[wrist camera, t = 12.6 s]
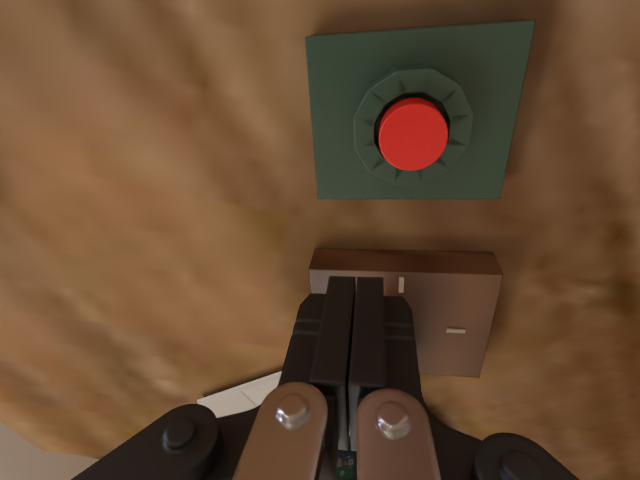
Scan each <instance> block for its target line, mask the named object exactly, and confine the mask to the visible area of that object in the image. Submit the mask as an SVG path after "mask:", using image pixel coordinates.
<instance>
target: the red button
mask: <svg viewBox="0 0 640 480" xmlns="http://www.w3.org/2000/svg"><path fill="white" fill-rule="evenodd" d="M447 140H448V128H447V124H446V121H445V119H444V118H443V116H442V114H441V112H440V111H439V109H438V108H437V107H436V106H435V105H434V104H433V103H432V102H430V101H428V100H426V99H423V98H418V97H412V98H406V99H403V100H400V101H398V102H396V103H395V104H393V105H392V106H391V107H390V108H389V109H388V110H387V111H386V113H385V114H384V116H383V118H382V120H381V123H380V127H379V146H380V150H381V153H382V155H383V156H384V158H385V159H386V160H387V161H388V162H389V163H390V164H391V165H393V166H394V167H396V168H399V169H402V170H408V171H413V170H419V169H423V168H425V167H427V166H429V165H431V164H432V163H434V162H435V161H436V160H437V159H438V158H439V157H440V156H441V154H442V153H443V151H444V149H445V147H446V144H447Z"/></svg>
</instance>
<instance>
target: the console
mask: <svg viewBox="0 0 640 480" xmlns="http://www.w3.org/2000/svg"><path fill="white" fill-rule="evenodd" d="M330 276H353V277H356V286H357V277H383V283H384V296H403V298H404V299H405V300H406V302H407V303H408V305H409V306H410V308H411V309H412V313H413V322H414V331H415V341H416V349H417V358H418V367H419V373H420V374H434V375H447V376H461V377H475V378H479V377H480V373H481V369H482V364H483V360H484V356H485V351H486V347H487V343H488V339H489V334H490V330H491V326H492V322H493V317H494V313H495V309H496V305H497V300H498V296H499V292H500V287H501V283H502V279H503V273H502V271H501V269H500V267H499V265H498V262H497V260H496V258H495V256H494V254H493V252H457V251H409V250H361V249H315V250H314V253H313V257H312V260H311V263H310V267H309V277H310V287H311V293H321V294H326V291H327V286H328V281H329V277H330Z"/></svg>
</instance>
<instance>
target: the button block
mask: <svg viewBox="0 0 640 480" xmlns="http://www.w3.org/2000/svg"><path fill="white" fill-rule="evenodd" d="M534 26H535V20H526V19H519V20H505V21H492V22H478V23H465V24H451V25H438V26H424V27H411V28H398V29H384V30H371V31H357V32H344V33H330V34H317V35H310V36H307V37H305V45H306V58H307V70H308V83H309V95H310V108H311V120H312V133H313V145H314V158H315V170H316V183H317V195H318V199H500V195H501V190H502V185H503V180H504V176H505V171H506V166H507V161H508V156H509V151H510V146H511V141H512V136H513V131H514V126H515V121H516V116H517V111H518V106H519V101H520V96H521V91H522V86H523V81H524V76H525V71H526V66H527V61H528V56H529V51H530V46H531V41H532V36H533V31H534ZM412 97H418V98H423V99H426V100H428V101H430V102H432V103H433V104H434V105H435V106H436V107H437V108H438V109H439V111H440V112H441V114H442V116H443V118H444V119H445V121H446V124H447V128H448V140H447V144H446V147H445V149H444V151H443V153H442V154H441V156H440V157H439V158H438V159H437V160H436V161H435V162H434V163H432V164H431V165H429V166H427V167H425V168H423V169H419V170H413V171H408V170H402V169H399V168H396V167H394V166H393V165H391V164H390V163H389V162H388V161H387V160H386V159H385V158H384V156H383V155H382V153H381V150H380V146H379V127H380V123H381V120H382V118H383V116H384V114H385V113H386V111H387V110H388V109H389V108H390V107H391V106H392V105H393V104H395V103H396V102H398V101H400V100H403V99H406V98H412Z"/></svg>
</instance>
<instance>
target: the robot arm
mask: <svg viewBox="0 0 640 480" xmlns="http://www.w3.org/2000/svg"><path fill="white" fill-rule="evenodd" d="M349 428H350V442H351V451H357V480H579V479H578V478H577V477H576V476H574V475H573V474H572V473H571V472H570V471H569V470H568V469H566V468H565V467H564V466H563V465H562V464H561V463H560V462H558V461H557V460H556V459H555V458H554V457H553V456H552V455H550V454H549V453H548V452H547V451H546V450H545V449H543V448H542V447H541V446H540V445H538V444H537V443H535V442H533V441H532V440H530V439H528V438H525V437H523V436H520V435H517V434H512V433H496V434H493V435H490V436H488V437H486V438H485V439H484V440H483V441H482V440H479V439H477V438H474V437H472V436H469V435H466V434H464V433H461V432H459V431H456V430H454V429H452V428H450V427H448V426H447V425H445V424H443V423H442V422H441V421H440V420H438V419H437V418H436V417H435V416H434V415H433V414H432V413H431V411H430V410H429V409H428V407H427V406H426V404H425V402H424V399H423V397H422V392H421V384H420V375H419V367H418V358H417V349H416V341H415V331H414V322H413V313H412V309H411V308H410V306H409V305H408V303H407V302H406V300H405V299H404V298H403V296H384V283H383V277H357V286H356V277H353V276H330V277H329V281H328V286H327V291H326V294H321V293H310V294H309V295H308V297H307V298H306V299H305V300H304V301H303V302H302V303H301V305H300V307H299V310H298V314H297V318H296V322H295V325H294V329H293V335H292V336H291V340H290V343H289V347H288V351H287V354H286V358H285V361H284V365H283V369H282V372H281V376H280V380H279V383H278V385H277V387H276V388H275V389H274V390H272V391H271V392H270V393H269V394H268V395H267V396H266V397H265V399H264V400H263V402H262V404H260V405H259V406H257V407H255V408H253V409H251V410H248V411H244V412H240V413H236V414H232V415H227V416H223V417H219V418H216V416H215V414H214V412H213V411H212V410H211V409H209V408H208V407H206V406H203V405H200V404H187V405H183V406H180V407H177V408H175V409H173V410H171V411H169V412H168V413H166V414H164V415H163V416H162V417H160V418H159V419H157V420H156V421H154V422H153V423H152V424H150V425H149V426H147V427H146V428H144V429H143V430H142V431H140V432H139V433H137V434H136V435H134V436H133V437H132V438H130V439H129V440H127V441H126V442H124V443H123V444H121V445H120V446H119V447H117V448H116V449H114V450H113V451H111V452H110V453H109V454H107V455H106V456H104V457H103V458H101V459H100V460H99V461H97V462H96V463H94V464H93V465H91V466H90V467H89V468H87V469H86V470H85V471H83V472H81V473H80V474H78V475H77V476H76V477H74V478H73V479H71V480H335V475H336V465H337V455H338V450H347V451H348V442H349Z"/></svg>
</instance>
